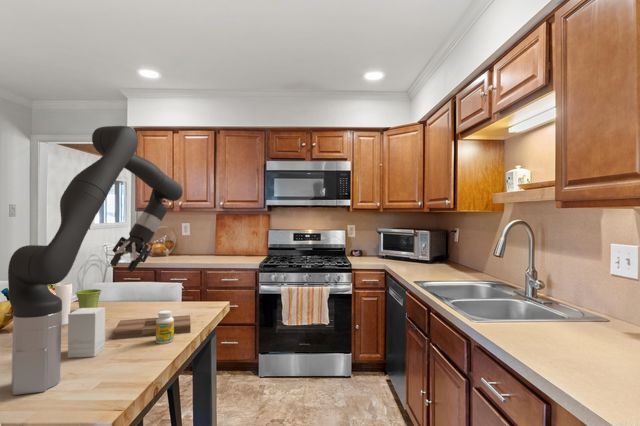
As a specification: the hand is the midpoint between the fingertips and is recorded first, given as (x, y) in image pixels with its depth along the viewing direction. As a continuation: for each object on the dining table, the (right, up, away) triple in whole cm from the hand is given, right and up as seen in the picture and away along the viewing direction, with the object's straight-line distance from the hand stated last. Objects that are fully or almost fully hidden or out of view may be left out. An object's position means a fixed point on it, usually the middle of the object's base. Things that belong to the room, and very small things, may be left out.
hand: (120, 268), depth 127 cm
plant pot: (-28, -23, +27) cm, 45 cm away
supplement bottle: (+19, -23, -8) cm, 31 cm away
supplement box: (0, -22, -19) cm, 29 cm away
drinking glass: (-27, -22, +8) cm, 36 cm away
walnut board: (+10, -23, +4) cm, 25 cm away
